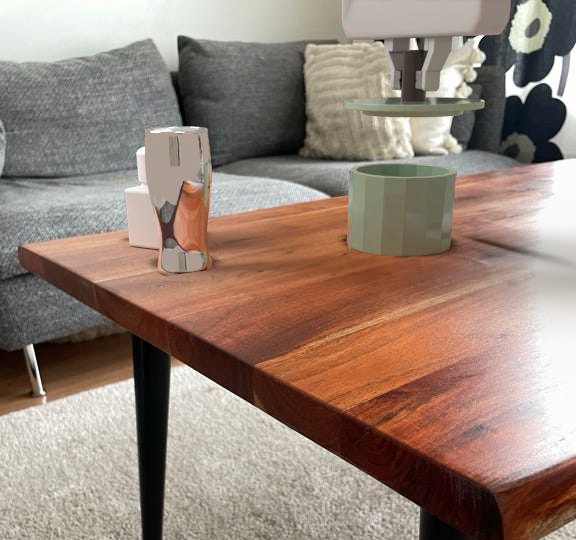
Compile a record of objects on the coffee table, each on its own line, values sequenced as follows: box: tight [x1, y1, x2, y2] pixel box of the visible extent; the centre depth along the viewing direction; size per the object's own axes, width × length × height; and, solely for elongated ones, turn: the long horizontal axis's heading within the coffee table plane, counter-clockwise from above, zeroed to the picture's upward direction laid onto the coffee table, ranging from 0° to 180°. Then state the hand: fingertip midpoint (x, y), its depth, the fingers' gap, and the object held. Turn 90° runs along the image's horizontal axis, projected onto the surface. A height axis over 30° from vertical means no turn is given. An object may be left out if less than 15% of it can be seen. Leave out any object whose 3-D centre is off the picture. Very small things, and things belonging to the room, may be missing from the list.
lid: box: [343, 49, 486, 118], centre depth 70 cm, size 14×14×6 cm
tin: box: [346, 162, 458, 257], centre depth 88 cm, size 13×13×10 cm
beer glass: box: [143, 125, 213, 277], centre depth 78 cm, size 7×7×15 cm
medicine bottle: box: [123, 145, 159, 250], centre depth 90 cm, size 7×7×12 cm
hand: (413, 90), depth 70 cm, fingers closed on lid, 2 cm apart
